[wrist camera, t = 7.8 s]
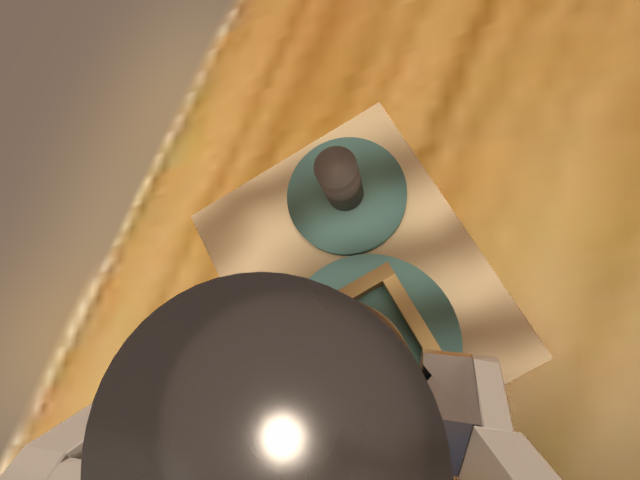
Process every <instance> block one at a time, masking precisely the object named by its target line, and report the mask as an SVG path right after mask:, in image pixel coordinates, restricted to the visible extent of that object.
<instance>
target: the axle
mask: <svg viewBox="0 0 640 480" xmlns="http://www.w3.org/2000/svg"><path fill="white" fill-rule="evenodd" d="M81 480H453V475H452V465H451V455H450V448H449V444H448V440H447V435H446V431H445V426H444V422H443V419H442V416H441V414H440V411H439V408H438V405H437V403H436V400H435V397H434V394H433V392H432V390H431V388H430V387H429V385H428V383H427V381H426V379H425V377H424V375H423V373H422V371H421V369H420V367H419V365H418V363H417V362H416V360H415V358H414V356H413V355H412V353H411V351H410V349H409V347H408V346H407V344H406V342H405V340H404V339H403V337H402V335H401V333H400V332H399V330H398V329H397V327H396V326H395V325H394V324H393V322H392V321H391V320H390V319H389V318H387V317H386V316H385V315H384V314H382V313H381V312H379V311H377V310H375V309H373V308H371V307H369V306H367V305H365V304H363V303H361V302H359V301H357V300H355V299H353V298H351V297H350V296H348V295H346V294H344V293H342V292H340V291H338V290H336V289H334V288H332V287H330V286H328V285H325V284H322V283H319V282H316V281H313V280H311V279H308V278H304V277H300V276H295V275H290V274H285V273H273V272H250V273H238V274H233V275H228V276H223V277H219V278H215V279H212V280H210V281H207V282H204V283H201V284H198V285H196V286H194V287H192V288H190V289H188V290H186V291H184V292H182V293H180V294H178V295H176V296H175V297H173V298H172V299H170V300H169V301H167V302H166V303H165V304H163V305H162V306H160V307H159V308H158V309H156V310H155V311H154V312H153V313H152V314H151V315H150V316H148V317H147V318H146V319H145V320H144V321H143V322H142V323H141V324H140V325H139V326H138V327H137V328H136V329H135V331H134V332H133V333H132V334H131V335H130V336H129V337H128V338H127V340H126V341H125V342H124V344H123V345H122V347H121V348H120V350H119V351H118V352H117V354H116V355H115V357H114V358H113V360H112V362H111V364H110V365H109V367H108V369H107V371H106V373H105V375H104V376H103V378H102V380H101V383H100V385H99V388H98V390H97V393H96V395H95V398H94V400H93V403H92V407H91V410H90V414H89V417H88V421H87V424H86V430H85V436H84V441H83V447H82V459H81Z"/></svg>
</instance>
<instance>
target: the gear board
mask: <svg viewBox="0 0 640 480" xmlns="http://www.w3.org/2000/svg"><path fill="white" fill-rule="evenodd" d="M191 218H192V220H193V223H194V225H195V227H196V229H197V231H198V233H199V235H200V237H201V239H202V241H203V243H204V245H205V247H206V249H207V251H208V254H209V256H210V258H211V260H212V262H213V264H214V266H215V268H216V270H217V272H218V274H219V276H220V277H223V276H228V275H233V274H238V273H250V272H273V273H285V274H290V275H295V276H300V277H304V278H308V279H311V280H313V281H316V282H319V283H322V284H325V285H328V286H330V287H332V288H334V289H336V290H338V291H340V292H342V293H344V294H346V295H348V296H350V297H351V298H353V299H355V300H357V301H359V302H361V303H363V304H365V305H367V306H369V307H371V308H373V309H375V310H377V311H379V312H381V313H382V314H384V315H385V316H386V317H387V318H389V319H390V320H391V321H392V322H393V324H394V325H395V326H396V327H397V329H398V330H399V332H400V333H401V335H402V337H403V339H404V340H405V342H406V344H407V346H408V347H409V349H410V351H411V353H412V355H413V356H414V358H415V360H416V362H417V363H418V365H419V367H420V358H421V352H422V349H430V350H440V351H449V352H459V353H468V354H470V355H471V354H474V355H483V356H491V357H497V358H498V360H499V361H500V366H501V371H502V376H503V381H504V385H505V384H507V383H509V382H511V381H513V380H514V379H516V378H518V377H520V376H522V375H524V374H525V373H527V372H529V371H531V370H533V369H535V368H536V367H538V366H540V365H542V364H544V363H545V362H547V361H549V360H551V359H553V357H552V356H551V354H550V353H549V351H548V350H547V348H546V347H545V345H544V344H543V342H542V341H541V339H540V338H539V336H538V335H537V334H536V332H535V331H534V329H533V328H532V326H531V325H530V323H529V322H528V320H527V319H526V317H525V316H524V314H523V313H522V311H521V310H520V308H519V307H518V306H517V304H516V303H515V301H514V300H513V298H512V297H511V295H510V294H509V292H508V291H507V289H506V288H505V286H504V285H503V283H502V282H501V280H500V279H499V278H498V276H497V275H496V273H495V272H494V270H493V269H492V267H491V266H490V264H489V263H488V261H487V260H486V258H485V257H484V255H483V254H482V253H481V251H480V250H479V248H478V247H477V245H476V244H475V242H474V241H473V239H472V238H471V236H470V235H469V233H468V232H467V230H466V229H465V227H464V226H463V225H462V223H461V222H460V220H459V219H458V217H457V216H456V214H455V213H454V211H453V210H452V208H451V207H450V205H449V204H448V202H447V201H446V200H445V198H444V197H443V195H442V194H441V192H440V191H439V189H438V188H437V186H436V185H435V183H434V182H433V180H432V179H431V177H430V176H429V174H428V173H427V172H426V170H425V169H424V167H423V166H422V164H421V163H420V161H419V160H418V158H417V157H416V155H415V154H414V152H413V151H412V149H411V148H410V146H409V145H408V144H407V142H406V141H405V139H404V138H403V136H402V135H401V133H400V132H399V130H398V129H397V127H396V126H395V124H394V123H393V121H392V120H391V119H390V117H389V116H388V114H387V113H386V111H385V110H384V108H383V107H382V105H381V104H380V102H379V103H377V104H375V105H374V106H372V107H370V108H369V109H367V110H365V111H364V112H362V113H361V114H359V115H357V116H356V117H354V118H352V119H351V120H349V121H347V122H346V123H344V124H342V125H341V126H339V127H337V128H336V129H334V130H332V131H331V132H329V133H327V134H326V135H324V136H322V137H321V138H319V139H318V140H316V141H314V142H313V143H311V144H309V145H308V146H306V147H304V148H303V149H301V150H299V151H298V152H296V153H294V154H293V155H291V156H289V157H288V158H286V159H284V160H283V161H281V162H279V163H278V164H276V165H275V166H273V167H271V168H270V169H268V170H266V171H265V172H263V173H261V174H260V175H258V176H256V177H255V178H253V179H251V180H250V181H248V182H246V183H245V184H243V185H241V186H240V187H238V188H237V189H235V190H233V191H232V192H230V193H228V194H227V195H225V196H223V197H222V198H220V199H218V200H217V201H215V202H213V203H212V204H210V205H208V206H207V207H205V208H203V209H202V210H200V211H198V212H197V213H195V214H194V215H192V216H191Z"/></svg>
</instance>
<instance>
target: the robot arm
mask: <svg viewBox="0 0 640 480" xmlns="http://www.w3.org/2000/svg"><path fill="white" fill-rule="evenodd" d="M420 369H421V371H422V373H423V375H424V377H425V379H426V381H427V383H428V385H429V387H430V388H431V390H432V392H433V394H434V397H435V400H436V403H437V405H438V408H439V411H440V414H441V416H442V419H443V422H444V426H445V431H446V435H447V440H448V444H449V448H450V455H451V465H452V475H453V476H457V477H459V480H562V479H561V478H560V476H559V475H558V474H557V473H556V472H555V471H554V469H553V468H552V467H551V466H550V465H549V464H548V462H547V461H546V460H545V459H544V458H543V457H542V455H541V454H540V453H539V452H538V451H537V450H536V448H535V447H534V446H533V445H532V444H531V442H530V441H529V440H528V439H527V438H526V437H525V435H524V434H523V433H520V432H515V431H514V429H513V424H512V419H511V414H510V410H509V405H508V400H507V395H506V390H505V385H504V381H503V376H502V371H501V366H500V361H499V360H498V358H497V357H491V356H483V355H474V354H471V355H470V354H468V353H459V352H449V351H440V350H430V349H422V352H421V358H420ZM91 407H92V404H90V405H88V406H87V407H85V408H84V409H82V410H81V411H79V412H77V413H76V414H74V415H73V416H71V417H70V418H68V419H66V420H65V421H63V422H62V423H60V424H58V425H57V426H55V427H54V428H52V429H51V430H49V431H47V432H46V433H44V434H43V435H41V436H39V437H38V438H36V439H35V440H33V441H32V442H30V443H28V444H27V445H25V446H24V447H23V449H22V450H21V451H20V452H19V454H18V455H17V456H16V457H15V459H14V460H13V461H12V462H11V463H10V465H9V466H8V467H7V468H6V470H5V471H4V472H3V473H2V475H1V476H0V480H81V459H82V447H83V441H84V436H85V430H86V424H87V421H88V417H89V414H90V410H91Z"/></svg>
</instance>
